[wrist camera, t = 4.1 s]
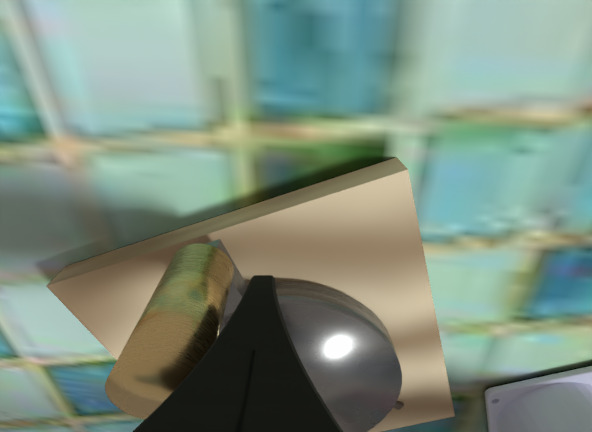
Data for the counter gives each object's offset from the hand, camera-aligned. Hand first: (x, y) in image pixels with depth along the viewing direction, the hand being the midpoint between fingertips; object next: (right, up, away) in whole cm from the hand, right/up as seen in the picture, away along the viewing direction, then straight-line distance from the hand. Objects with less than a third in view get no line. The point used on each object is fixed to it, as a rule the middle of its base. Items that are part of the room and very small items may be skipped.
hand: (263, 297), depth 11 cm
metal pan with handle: (0, -5, +6) cm, 8 cm away
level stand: (0, -5, +8) cm, 9 cm away
